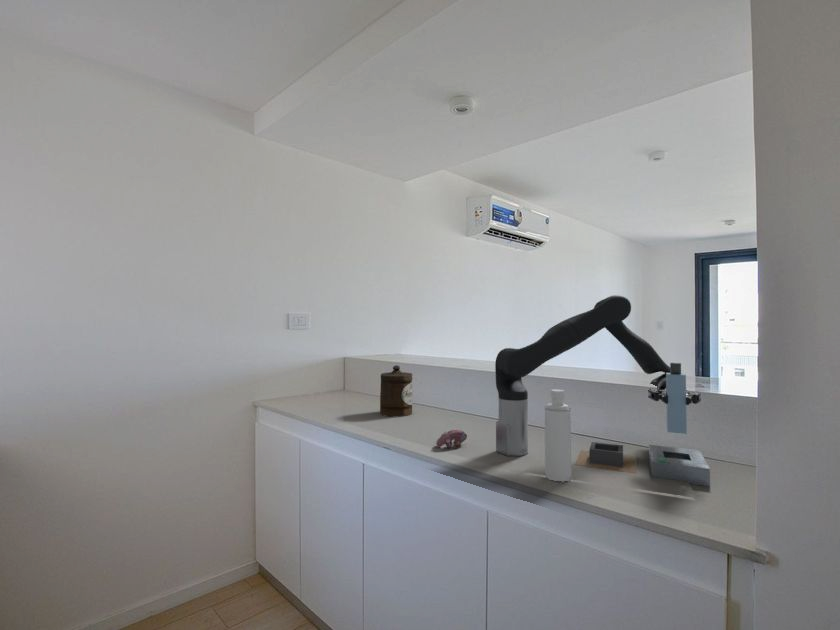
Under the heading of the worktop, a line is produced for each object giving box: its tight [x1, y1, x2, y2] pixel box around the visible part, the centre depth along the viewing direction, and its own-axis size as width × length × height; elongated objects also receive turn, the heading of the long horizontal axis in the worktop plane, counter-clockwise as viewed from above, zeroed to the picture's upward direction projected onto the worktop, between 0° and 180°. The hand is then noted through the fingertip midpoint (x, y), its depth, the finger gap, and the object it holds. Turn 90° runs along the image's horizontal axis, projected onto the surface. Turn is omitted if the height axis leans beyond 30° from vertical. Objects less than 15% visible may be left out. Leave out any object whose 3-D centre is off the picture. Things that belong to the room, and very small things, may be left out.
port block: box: [648, 444, 711, 487], centre depth 121 cm, size 18×13×5 cm
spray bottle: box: [544, 388, 572, 483], centre depth 117 cm, size 7×7×25 cm
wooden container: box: [379, 365, 413, 417], centre depth 200 cm, size 15×15×22 cm
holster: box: [575, 441, 638, 474], centre depth 129 cm, size 16×16×5 cm
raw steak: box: [435, 429, 468, 448], centre depth 146 cm, size 10×5×7 cm, turn 119°
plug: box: [665, 362, 688, 435], centre depth 121 cm, size 4×4×19 cm
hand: (677, 400), depth 119 cm, fingers closed on plug, 4 cm apart
